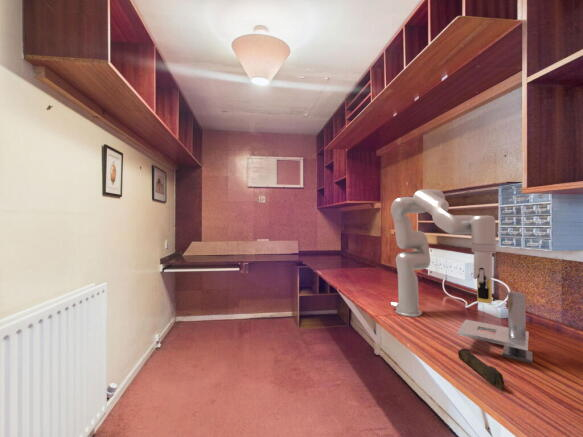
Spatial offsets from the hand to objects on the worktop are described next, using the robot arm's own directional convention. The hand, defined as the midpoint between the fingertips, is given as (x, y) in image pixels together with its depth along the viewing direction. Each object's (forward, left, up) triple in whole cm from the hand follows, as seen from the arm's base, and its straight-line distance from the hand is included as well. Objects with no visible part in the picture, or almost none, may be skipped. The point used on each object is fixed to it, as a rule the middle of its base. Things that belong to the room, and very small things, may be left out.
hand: (484, 296), depth 106 cm
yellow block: (0, 0, -2) cm, 2 cm away
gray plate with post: (+3, 0, -19) cm, 20 cm away
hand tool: (+2, -21, -20) cm, 29 cm away
